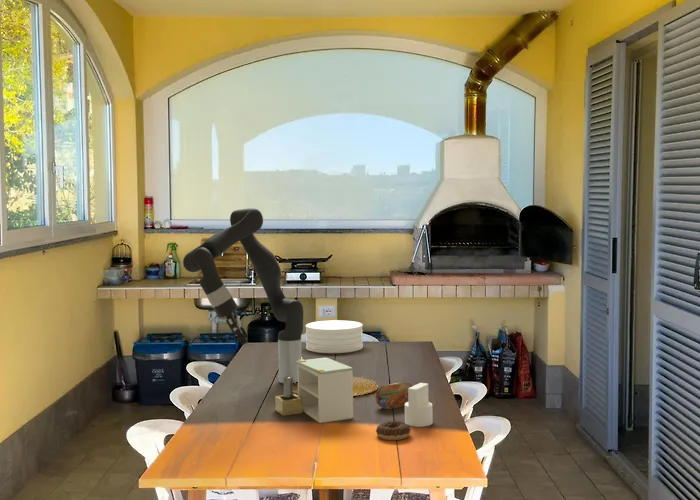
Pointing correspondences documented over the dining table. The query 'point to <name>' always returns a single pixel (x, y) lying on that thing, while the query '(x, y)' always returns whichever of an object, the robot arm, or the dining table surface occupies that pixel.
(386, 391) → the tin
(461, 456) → the dining table surface
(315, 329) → the plate stack
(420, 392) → the cylinder with rectangular tab
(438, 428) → the dining table surface
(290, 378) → the hinge pin
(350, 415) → the cabinet
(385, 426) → the donut
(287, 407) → the tan open box
